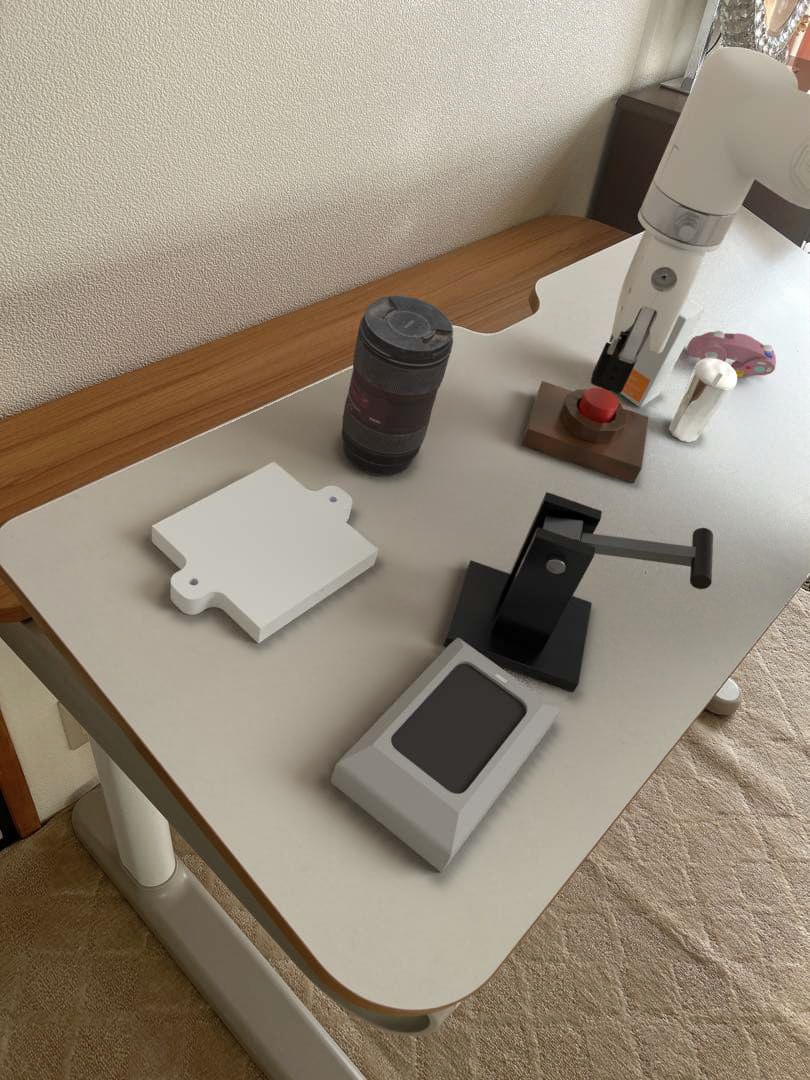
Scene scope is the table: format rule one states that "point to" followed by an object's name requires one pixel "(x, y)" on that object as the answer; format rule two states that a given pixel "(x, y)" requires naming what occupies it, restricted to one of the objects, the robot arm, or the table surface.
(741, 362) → the video game controller
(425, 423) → the camera lens
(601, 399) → the button
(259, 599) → the mounting plate
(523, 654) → the bracket
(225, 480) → the table surface
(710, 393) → the milkshake
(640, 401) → the cosmetic box
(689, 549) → the lever
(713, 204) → the robot arm
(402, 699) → the card reader
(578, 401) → the button block
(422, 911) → the table surface
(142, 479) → the table surface
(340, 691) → the table surface
